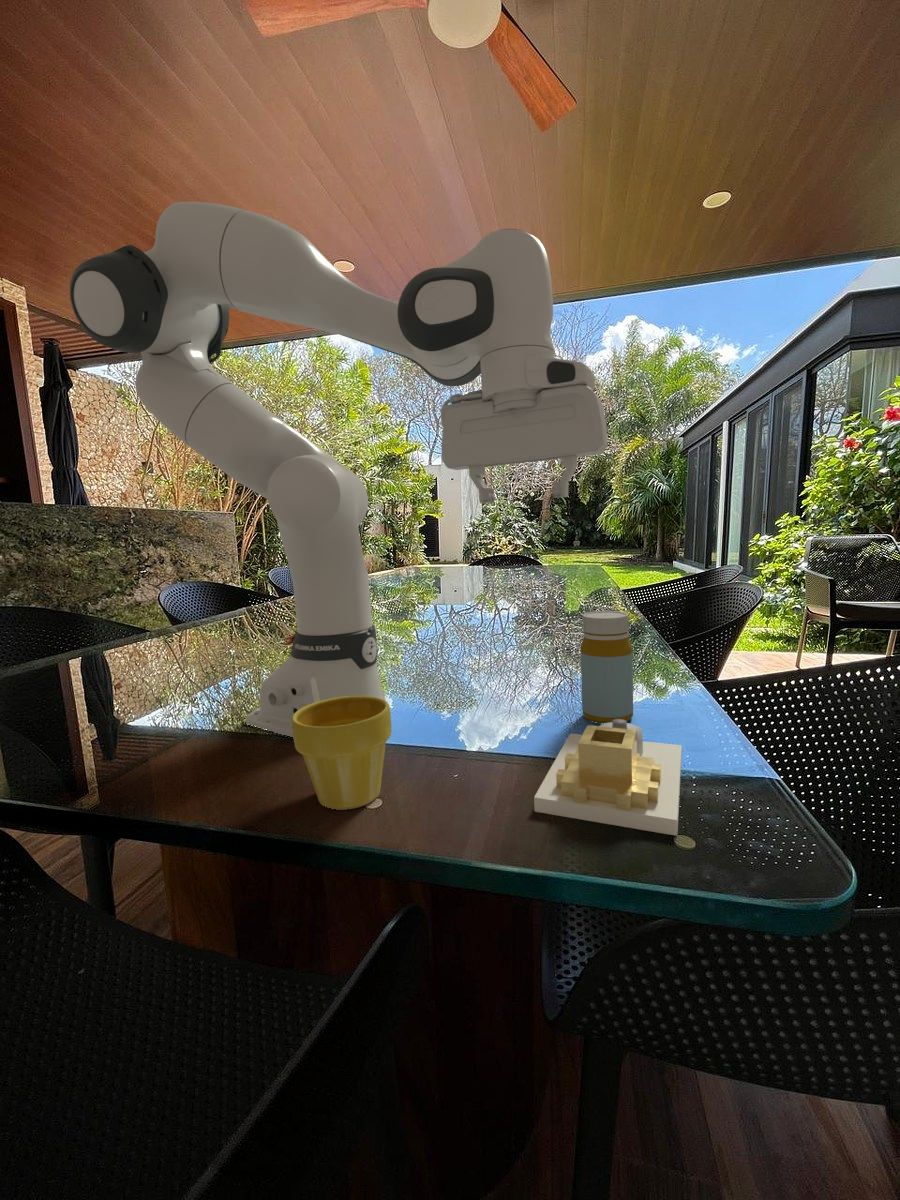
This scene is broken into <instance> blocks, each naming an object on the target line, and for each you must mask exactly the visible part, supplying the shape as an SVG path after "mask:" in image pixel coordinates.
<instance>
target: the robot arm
mask: <svg viewBox="0 0 900 1200" xmlns="http://www.w3.org/2000/svg"><path fill="white" fill-rule="evenodd" d="M154 239H155V240H154V245H153V246H152V247H151V248H150V249H149V250H147V251H142V250H141V249H140V248H138V247H136V246H135V245H133V244H127V245H124V246H122V247H120V248H117V249H116V250H113V251H111V252H108V253H104V254H101V255H98V256H97V255H96V256H94V257H91V258H89V259H86V260H84V261H83V262H81V263H80V264H79V265H78V266H77V267H76V268H75V270H74V271H73V273H72V274H71V279H70V281H69V283H70V284H69V299H70V304H71V307H72V311H73V313H74V315H75V318H76V320H77V322H78V324H79V325H80V327H81V328H82V330H84V332H85V333H86V334H87V335H88V336H89V337H91V339H93V340H94V341H96V342H97V343H98V344H100V345H103V346H104V347H107V348H110V349H112V350H116V351H119V352H123V353H127V354H128V353H129V354H139V353H140V356H141V361H142V362H141V363H142V364H140V366H139V368H138V370H137V374H136V375H135V376H136V377H135V391H136V394H137V396H138V399H139V401H140V402H141V404H143V405H144V407H145V408H146V409H147V410H148V412H150V414H151V415H153V416H154V418H156V420H157V421H158V422H160V423H161V425H163V426H164V427H165V428H166V429H167V430H168V431H169V432H170V433H172V434H173V435H174V436H175V437H176V438H177V439H179V441H182V442H183V443H184V444H185V445H187V446H188V447H189V448H190V449H192V450H193V451H195V452H196V453H197V454H199V455H200V456H202V457H203V458H204V459H206V460H207V461H208V462H209V463H211V464H212V465H213V466H214V467H216V468H218V470H220V471H221V472H223V473H224V474H226V475H227V476H228V477H230V478H231V479H232V480H234V481H235V482H237V483H239V484H241V485H243V486H244V487H246V488H248V489H250V490H252V491H253V492H254V493H257V494H258V495H260V496H261V497H263V498H264V499H266V500H267V501H268V505H269V508H270V511H271V512H272V514H273V516H274V518H275V519H276V522H277V527H278V530H279V534H280V539H281V543H282V546H283V551H284V554H285V558H286V560H287V563H288V567H289V568H288V569H289V573H290V575H291V581H292V582H291V583H292V587H293V596H294V597H293V598H294V606H295V615H296V617H295V618H296V625H297V631H296V632H295V633H294V634H293V635H291V636H288V637H287V636H286V637H284V638H283V641H285V640H289V641H286V642H285V643H284V644H283V645H284V646H285V647H286V646H288V645H291V649H290V654H289V655H290V656H289V657H288V658H287V659H286V660H285V661H284V662H283V663H282V664H281V665H280V666H279V667H278V668H276V669H275V670H274V671H273V672H272V673H271V674H270V675H269V676H268V677H266V679H264V681H263V682H262V684H261V686H260V691H259V707H258V708H256V709H254V710H253V711H251V712H250V713H249V714H248V715H246V716H245V719H244V721H245V722H246V723H249V724H252V725H255V726H257V727H260V728H264V729H267V730H269V731H273V732H275V733H274V734H276V733H278V734H277V735H279V734H283V735H287V736H290V737H293V729H292V716H293V715H294V713H295V712H296V711H298V710H299V709H301V708H303V707H305V706H307V705H309V704H312V703H315V702H318V701H322V700H326V699H331V698H337V697H344V696H372V697H378V698H381V699H384V700H385V701H387V700H386V698H385V694H384V692H383V688H382V684H381V679H380V674H379V669H378V662H377V660H378V642H377V633H376V632H377V631H376V626H375V625H374V624H373V619H372V616H373V615H372V608H371V607H372V605H371V592H370V581H369V580H370V579H369V572H368V569H367V566H366V562H365V557H364V552H363V547H362V546H363V545H362V541H361V536H360V528H359V526H360V525H361V524H362V522H363V521H364V519H365V517H366V516H367V512H368V508H369V497H368V492H367V489H366V486H365V485H364V483H363V481H362V480H361V478H359V476H358V475H357V474H355V473H354V472H353V471H352V470H350V469H349V468H348V467H346V466H345V465H344V464H342V463H341V462H340V461H339V460H338V459H336V458H335V457H333V456H332V455H330V454H329V453H327V452H326V451H325V450H323V449H322V448H321V447H319V445H317V444H315V443H313V442H312V441H311V440H310V439H309V438H307V437H306V436H304V435H303V434H301V433H300V432H299V431H297V430H296V429H295V428H293V427H292V426H290V424H288V423H286V422H285V420H283V419H281V418H279V417H278V416H277V415H276V414H275V413H273V412H272V411H270V410H269V409H267V408H266V407H265V406H264V405H262V404H261V403H259V401H257V400H256V399H254V397H252V396H251V395H249V394H247V392H245V391H244V390H243V389H241V388H240V387H239V386H237V385H236V384H234V383H233V382H232V381H231V380H229V379H228V378H227V377H225V376H223V375H222V374H221V373H219V372H218V371H217V369H215V368H214V367H213V366H212V365H211V364H212V363H214V362H216V361H217V360H218V359H219V358H220V356H221V355H222V347H223V346H222V345H223V342H224V341H225V339H226V336H227V334H228V330H229V324H230V310H229V309H230V308H231V309H233V310H236V311H239V312H242V313H245V314H250V315H253V316H256V317H261V318H265V319H270V320H274V321H278V322H283V323H288V324H292V325H297V326H301V327H307V328H311V329H315V330H319V331H322V332H327V333H332V334H335V335H340V336H343V337H346V338H348V339H351V340H353V341H354V340H355V341H357V342H360V343H363V344H366V345H368V346H371V347H375V348H376V349H379V350H383V351H386V352H389V353H391V354H394V355H397V356H400V357H402V358H404V359H406V360H409V361H410V362H413V363H414V364H415V365H417V367H419V368H420V369H421V370H422V371H423V372H424V373H425V374H426V375H427V376H428V377H429V378H430V379H432V380H433V381H435V382H437V383H438V384H440V385H443V386H447V387H460V386H465V385H467V384H469V383H471V382H473V381H474V380H476V379H477V378H478V377H479V376H480V379H481V389H478V390H471V391H469V392H466V393H455V394H452V395H451V396H450V397H449V398H448V399H446V401H445V402H443V404H442V406H441V408H440V423H441V426H442V435H441V461H442V464H444V466H445V467H446V468H447V469H449V470H454V471H455V470H456V471H461V470H468V472H469V478H470V479H471V481H472V483H473V484H474V485H475V487H476V488H477V489H478V497H479V498H478V501H479V504H491V503H495V502H496V501H495V488H491V487H488V486H487V484H486V483H485V480H484V479H483V477H485V476H486V467H487V468H488V467H497V466H507V465H515V464H522V463H523V464H525V463H533V462H542V461H551V460H561V466H562V467H564V471H563V473H562V475H561V477H560V479H559V481H553V482H552V488H553V491H552V495H553V498H555V499H556V498H567V497H569V482H570V481H571V479H572V477H573V475H574V473H575V471H576V470H577V468H578V457H579V458H581V457H588V456H597V455H602V453H604V451H605V450H606V449H607V447H608V430H607V429H608V428H607V423H606V422H607V421H606V415H605V409H604V406H603V403H602V401H601V399H600V398H599V397H598V394H596V393H595V392H594V391H595V388H596V378H595V377H596V376H595V374H594V372H593V370H592V369H591V368H590V367H589V366H588V365H587V364H585V363H584V362H581V361H577V360H570V359H561V358H556V355H555V347H554V343H553V340H552V336H551V331H552V330H551V329H552V327H551V326H552V323H553V318H554V298H553V296H554V295H553V283H552V276H551V274H552V273H551V269H550V262H549V258H548V257H549V256H548V254H547V251H546V249H545V247H544V245H543V244H542V242H541V241H540V240H539V239H538V238H537V237H535V235H532V234H530V233H528V232H527V231H524V230H521V229H517V228H516V229H515V228H502V229H496V230H494V231H490V232H489V233H487V234H485V235H483V237H482V238H481V239H480V241H479V242H478V243H477V244H476V245H475V246H474V247H473V248H472V249H470V251H468V252H467V253H466V254H464V255H463V256H461V257H459V258H457V259H455V260H453V261H451V262H449V263H446V264H445V265H442V266H440V267H433V268H431V267H430V268H428V269H424V270H423V271H420V272H419V273H417V274H416V275H415V276H413V277H412V279H410V280H409V281H408V282H407V284H406V285H405V287H404V288H403V290H402V292H401V295H400V297H399V300H398V301H394V300H392V299H390V298H389V299H388V298H386V297H384V296H380V295H378V294H375V293H373V292H370V291H368V290H366V289H364V288H362V287H360V286H359V285H357V284H356V283H354V282H353V281H351V280H350V279H349V278H348V277H347V276H345V274H343V273H342V272H340V270H339V269H338V268H337V267H336V266H335V265H334V264H332V263H331V262H330V261H329V260H328V258H326V256H325V255H324V254H323V253H322V252H321V251H320V250H319V249H318V248H317V247H316V246H315V245H314V244H313V243H312V242H311V241H310V240H309V239H308V238H307V237H306V236H304V235H303V234H302V233H300V232H299V231H297V230H295V229H294V228H292V227H290V226H289V225H287V224H285V223H283V222H281V221H278V220H277V219H274V218H273V217H269V216H267V215H264V214H263V213H262V214H261V213H259V212H254V211H250V210H247V209H242V208H239V207H235V206H231V205H227V204H226V205H225V204H220V203H214V202H213V203H212V202H202V201H178V202H174V203H172V204H170V205H169V206H168V207H166V208H165V209H164V210H163V211H162V213H161V215H160V216H159V218H158V221H157V224H156V228H155V238H154ZM214 355H215V356H214ZM213 356H214V357H213ZM449 403H450V404H449ZM245 722H244V723H245ZM269 731H268V732H269ZM283 735H282V736H283ZM287 736H286V737H287ZM290 737H289V738H290ZM292 739H294V737H293V738H292Z"/></svg>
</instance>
